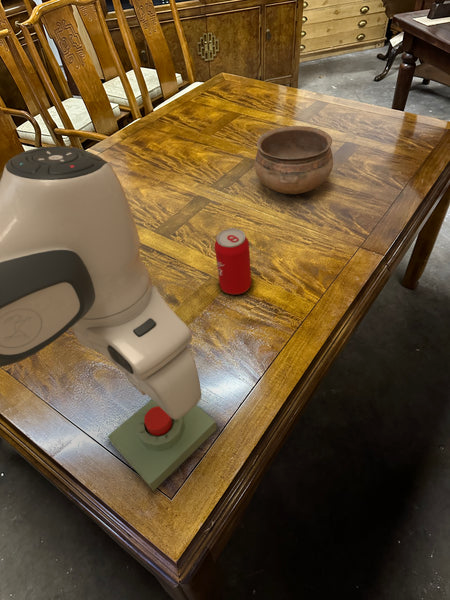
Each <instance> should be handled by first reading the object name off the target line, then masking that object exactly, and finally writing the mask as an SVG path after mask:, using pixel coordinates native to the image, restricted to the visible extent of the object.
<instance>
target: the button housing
mask: <svg viewBox="0 0 450 600" xmlns="http://www.w3.org/2000/svg"><path fill="white" fill-rule="evenodd" d="M157 406H158V405H157V404H156V403H155V402H154V401H153V400H152V399H151V398H150V399H149V401H147V402H146V403H145V404H144V405H143V406H141V407H140V408H139V409H138V410H136V411H135V412H134V413H133V414H132V415H131V416H129V417H128V419H126V420H125V421H124V422H122V423H121V424H120V425H119V426H118V427H117V428H115V429H114V430H113V431H112V432H110V434H108V435H107V438H108V440H109V442H110V443H111V445H112V446H113V447H114V448H115V449H116V450H117V452H119V453H120V455H121V456H122V457H123V458H124V459H125V460H126V462H127V463H128V464H129V465H130V466H131V467H132V468H133V470H134V471H135V472H136V473H137V474H138V475H139V476H140V477H141V479H142V480H144V482H145V483H146V484H147V485H148V486H149V487H150V488H151V490H152V491H154V492H155V490H156V489H158V487H159V486H160V485H161V484H163V483H164V482H165V481H166V479H168V478H169V477H170V476H171V475H172V474H173V473H174V472H175V471H176V470H177V469H178V468H179V467H180V466H181V465H182V464H183V463H184V462H186V460H187V459H188V458H189V457H190V456H191V455H192V454H193V453H195V451H197V449H198V448H199V447H201V446H202V444H203V443H205V442H206V440H208V439H209V437H211V436H212V434H213V435H214V433H215V432H216V431H217V430H218V427H217V426H218V425H217V421H216V420H215V419H214V418H213V417H211V416H210V415H209V414H208V413H207V412H205V411H204V410H203V409H202V408H201V407H200V406H198V404H196V405H195V406H194V407H193V408H192V409H191V410H190V411H189V412H188V413H187V414H185V415H184V416H183V417H181V418H179V419H172V426H171V428H170V430H169V431H168V432H167V433H165V434H163V435H160V436H156V435H152V434H151V433H149V431H148V430H147V427H146V425H145V422H144V418H145V415H146V413H147V412H148V411H149V410H150V409H151V408H153V407H157Z"/></svg>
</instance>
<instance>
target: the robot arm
mask: <svg viewBox="0 0 450 600" xmlns="http://www.w3.org/2000/svg"><path fill="white" fill-rule="evenodd" d="M123 187H124V186H122V183H121V181H120V179H119V177H118V175H117V173H116V172H115V170H114V168H113V167H112V165H111V164H110V163H109V162H108V161H107V160H105V159H104V158H102V157H100V156H99V155H97V154H95V153H92V152H91V151H88V150H86V149H82V148H79V147H76V146H62V145H55V146H53V145H51V146H43V147H37V148H32V149H28V150H25V151H23V152H20V153H18V154H17V155H15V156H12V157H11V158H10V159H9V160H8V161H6V163H5V165H4V168H3V172H2V176H1V178H0V367H1V368H2V367H7V366H11V365H13V364H16V363H19V362H22V361H24V360H26V359H28V358H30V357H32V356H34V355H35V354H37V353H39V352H40V351H42V350H43V349H45V348H47V347H48V346H49V345H51V344H52V343H54V342H55V341H56V340H57V339H59V338H60V337H61V336H63V335H64V334H65V333H66V332H68V331H69V330H71V331H72V333H73V335H74V337H75V339H76V340H77V341H78V342H79V343H80V344H81V345H82V346H84V347H85V348H88V349H90V350H94V351H96V352H97V353H99V354H101V355H102V356H105V357H106V359H108V360H109V361H110V362H111V363H112V364H113V365H114V366H116V367H117V369H119V370H120V371H121V372H122V373H123V374H124V375H125V376H126V379H127V380H128V382H129V383H130V385H132V386H133V387H134V388H135V389H136V390H137V391H138V392H139V393H140V394H141V395H142V396H145V395H146V396H147V397H148V398H149V399H150V400H151V399H152V400H153V401H154V402H155V403H156V404H157V405H158V406H159V407H160V408H161V409H162V410H163V411H165V412H166V413H167V414H168V415H169V416H170V417H171V418H172V419H179V418H181V417H183V416H184V415H185V414H187V413H188V412H189V411H190V410H191V409H192V408H193V407H194V406H195V405H198V403H200V401H201V398H202V388H201V382H200V381H201V380H200V375H199V372H198V367H197V364H196V361H195V357H194V356H193V354H192V352H191V350H190V348H189V347H188V345H190V344H191V342H192V340H193V336H192V332H191V330H190V328H189V327H188V325H187V324H186V323H185V322H184V321H183V320H182V319H181V318H180V316H179V315H178V314H176V312H175V311H174V310H173V309H172V308H171V307H170V306H169V304H168V303H167V302H166V301H165V299H164V297H163V295H161V293H160V291H159V289H158V288H157V287H156V286H155V285H154V284H153V283H152V279H151V275H150V272H149V269H148V267H147V265H146V263H145V262H144V261H143V259H142V258H141V255H140V248H141V240H140V239H141V238H140V235H139V232H138V228H137V225H136V221H135V218H134V215H133V211H132V209H131V206H130V203H129V199H128V197H127V195H126V192H125V190H124V188H123Z"/></svg>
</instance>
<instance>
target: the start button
mask: <svg viewBox="0 0 450 600" xmlns="http://www.w3.org/2000/svg"><path fill="white" fill-rule="evenodd" d="M144 422H145V425H146V427H147V430H148V431H149V433H151V434H152V435H156V436H160V435H163V434H165V433H167V432H168V431H169V430H170V428H171V426H172V418H171V417H170V416H169V415H168V414H167V413H166V412H165V411H163V410H162V409H161V408H160V407H159V406H157V407H153V408H151V409H150V410H149V411H148V412H147V413H146V415H145V418H144Z"/></svg>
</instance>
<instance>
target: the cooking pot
mask: <svg viewBox="0 0 450 600" xmlns="http://www.w3.org/2000/svg"><path fill="white" fill-rule="evenodd" d="M332 144H333V138H332V137H331V135H330V134H329V133H328V132H327V131H325V130H322V129H319V128H317V127H312V126H307V125H288V126H282V127H277V128H274V129H271V130H269V131H266V132H265V133H262V135H260V136H259V138H258V139H257V141H256V146H257V151H256V155H255V158H254V170H255V173H256V177H258V179H259V181H260V182H261V184H263V185H264V186H265V187H267V188H268V189H270V190H272V191H274V192H277V193H280V194H285V195H290V196H296V195H300V194H304V193H307V192H311V191H313V190H315V189H317V188H318V187H320V186H322V185H323V184H324V182H326V181H327V179H328V178H329V177H330V175H331V173H332V171H333V167H334V156H333V150H332V147H331V146H332Z"/></svg>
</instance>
